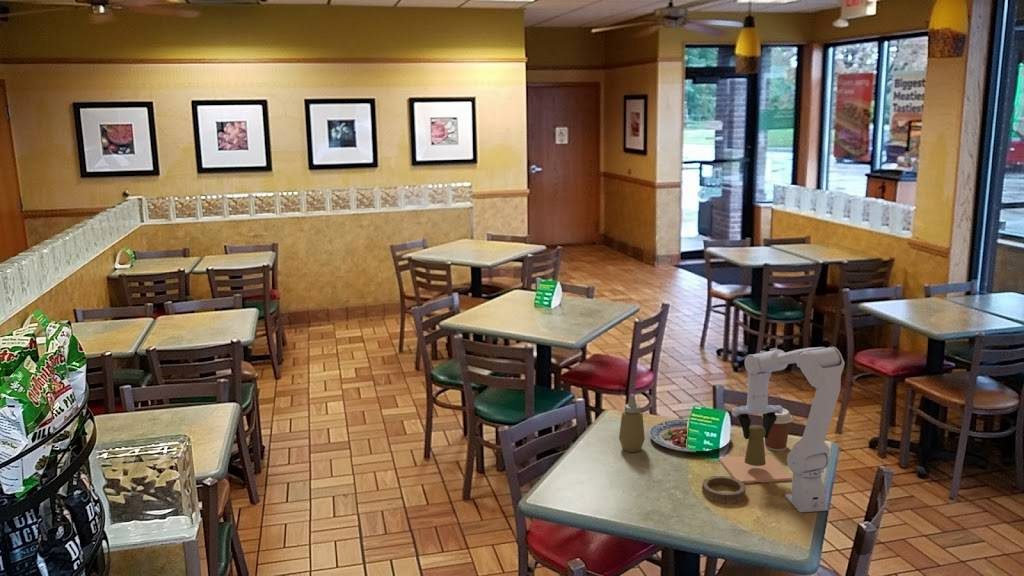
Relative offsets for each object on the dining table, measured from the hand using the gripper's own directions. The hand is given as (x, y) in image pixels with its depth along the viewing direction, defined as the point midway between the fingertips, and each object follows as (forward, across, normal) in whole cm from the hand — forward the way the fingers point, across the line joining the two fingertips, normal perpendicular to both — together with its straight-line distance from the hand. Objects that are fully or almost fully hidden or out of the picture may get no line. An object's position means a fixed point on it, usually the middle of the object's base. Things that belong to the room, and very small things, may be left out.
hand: (755, 437), depth 241 cm
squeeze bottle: (+11, +32, -20) cm, 39 cm away
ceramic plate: (+11, +12, -24) cm, 29 cm away
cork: (+8, 0, +1) cm, 8 cm away
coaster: (+10, 0, 0) cm, 10 cm away
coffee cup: (+11, -13, -15) cm, 23 cm away
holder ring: (+10, +14, +13) cm, 22 cm away
